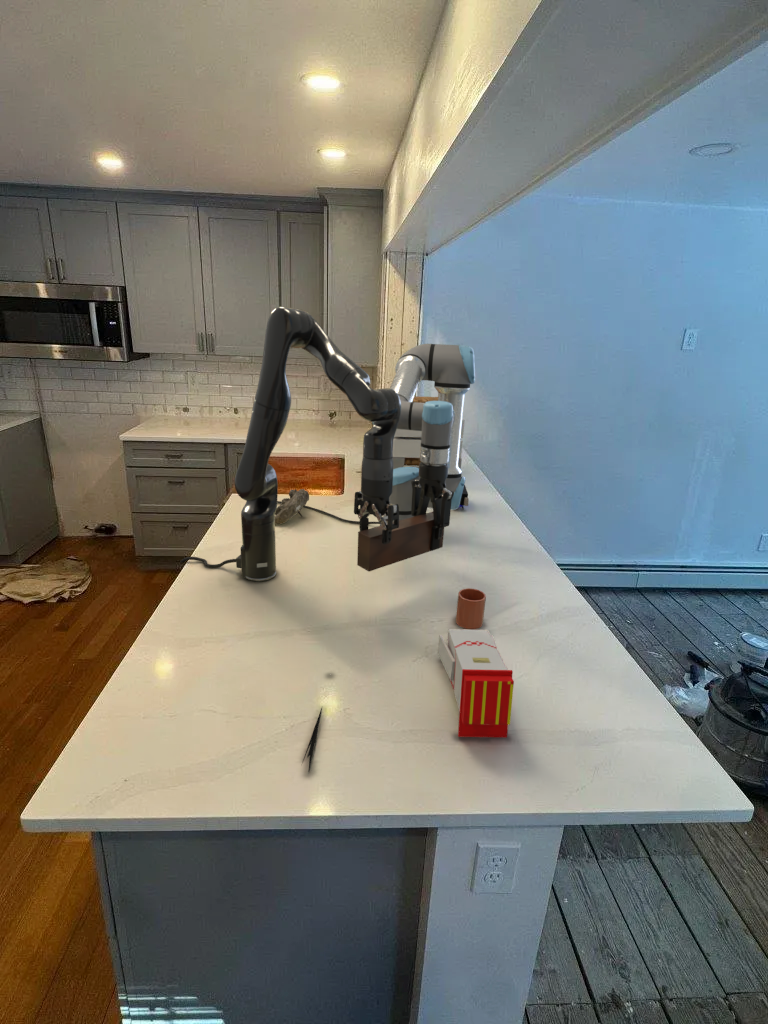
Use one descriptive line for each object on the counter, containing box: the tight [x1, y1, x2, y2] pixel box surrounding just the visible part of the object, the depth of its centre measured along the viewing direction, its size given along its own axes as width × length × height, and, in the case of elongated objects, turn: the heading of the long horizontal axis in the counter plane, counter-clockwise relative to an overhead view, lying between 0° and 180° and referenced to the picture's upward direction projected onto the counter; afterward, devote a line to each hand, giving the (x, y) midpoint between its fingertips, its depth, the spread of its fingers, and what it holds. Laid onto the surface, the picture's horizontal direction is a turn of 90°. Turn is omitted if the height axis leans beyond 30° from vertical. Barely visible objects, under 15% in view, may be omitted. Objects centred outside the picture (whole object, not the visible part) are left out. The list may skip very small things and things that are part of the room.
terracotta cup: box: [455, 587, 487, 630], centre depth 144 cm, size 7×7×8 cm
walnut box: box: [356, 511, 445, 572], centre depth 147 cm, size 26×5×9 cm, turn 131°
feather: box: [301, 673, 332, 771], centre depth 108 cm, size 2×28×2 cm
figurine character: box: [455, 484, 470, 511], centre depth 230 cm, size 7×8×15 cm
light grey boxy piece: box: [393, 395, 465, 471], centre depth 268 cm, size 34×33×41 cm
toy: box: [437, 628, 515, 738], centre depth 117 cm, size 12×13×30 cm
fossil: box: [275, 488, 310, 526], centre depth 210 cm, size 22×10×15 cm
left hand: (374, 537), depth 140 cm, fingers open, 8 cm apart
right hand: (427, 545), depth 154 cm, fingers closed on walnut box, 5 cm apart
